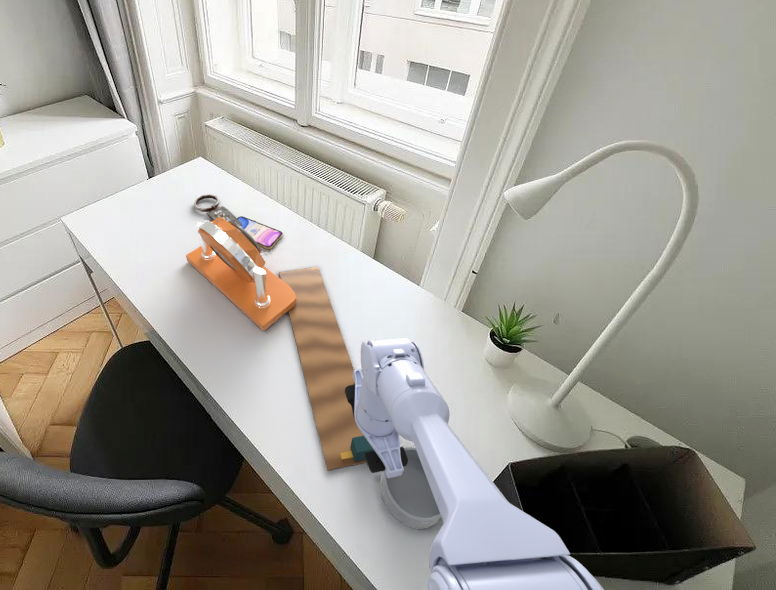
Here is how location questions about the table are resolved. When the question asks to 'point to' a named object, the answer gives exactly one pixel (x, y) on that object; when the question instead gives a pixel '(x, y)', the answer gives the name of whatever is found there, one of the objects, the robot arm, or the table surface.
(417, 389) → the robot arm
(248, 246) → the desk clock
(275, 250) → the table surface
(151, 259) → the table surface
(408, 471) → the bowl
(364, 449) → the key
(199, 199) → the keychain
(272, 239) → the smartphone
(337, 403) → the mat
